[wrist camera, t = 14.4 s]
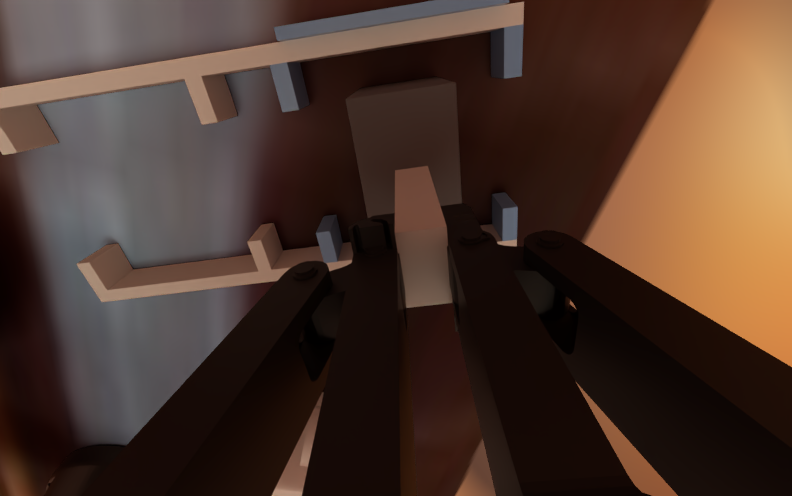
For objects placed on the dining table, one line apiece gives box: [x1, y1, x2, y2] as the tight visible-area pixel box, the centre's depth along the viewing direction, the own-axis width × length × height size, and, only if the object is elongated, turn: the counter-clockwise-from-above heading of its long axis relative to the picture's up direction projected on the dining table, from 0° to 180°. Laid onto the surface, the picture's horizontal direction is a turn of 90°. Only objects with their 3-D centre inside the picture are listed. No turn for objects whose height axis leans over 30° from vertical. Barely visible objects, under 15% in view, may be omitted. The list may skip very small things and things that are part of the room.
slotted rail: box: [0, 0, 524, 302], centre depth 23 cm, size 32×16×4 cm, turn 98°
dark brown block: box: [345, 77, 462, 218], centre depth 21 cm, size 5×9×8 cm, turn 8°
